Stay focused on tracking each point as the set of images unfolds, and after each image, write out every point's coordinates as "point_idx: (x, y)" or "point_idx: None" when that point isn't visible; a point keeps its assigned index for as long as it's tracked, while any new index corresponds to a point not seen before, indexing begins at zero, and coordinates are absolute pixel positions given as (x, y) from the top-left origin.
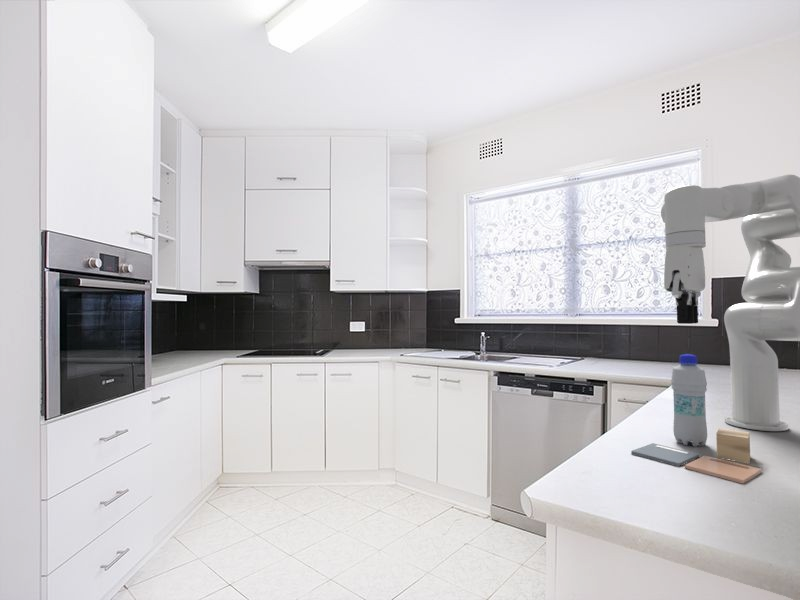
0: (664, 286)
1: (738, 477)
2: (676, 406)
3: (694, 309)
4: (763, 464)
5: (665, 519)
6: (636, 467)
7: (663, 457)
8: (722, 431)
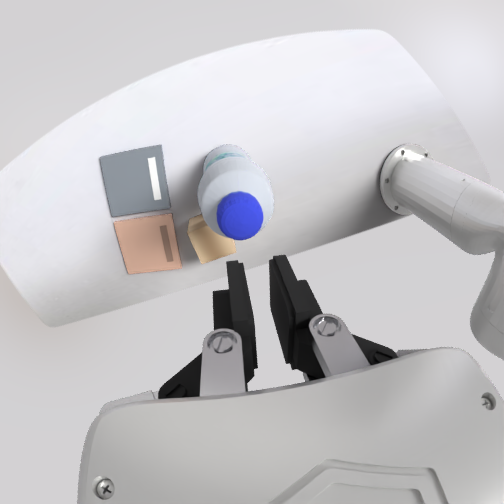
0: (89, 434)
1: (131, 269)
2: (206, 168)
3: (282, 349)
4: None
5: (23, 275)
6: (69, 195)
7: (113, 194)
8: (207, 231)
